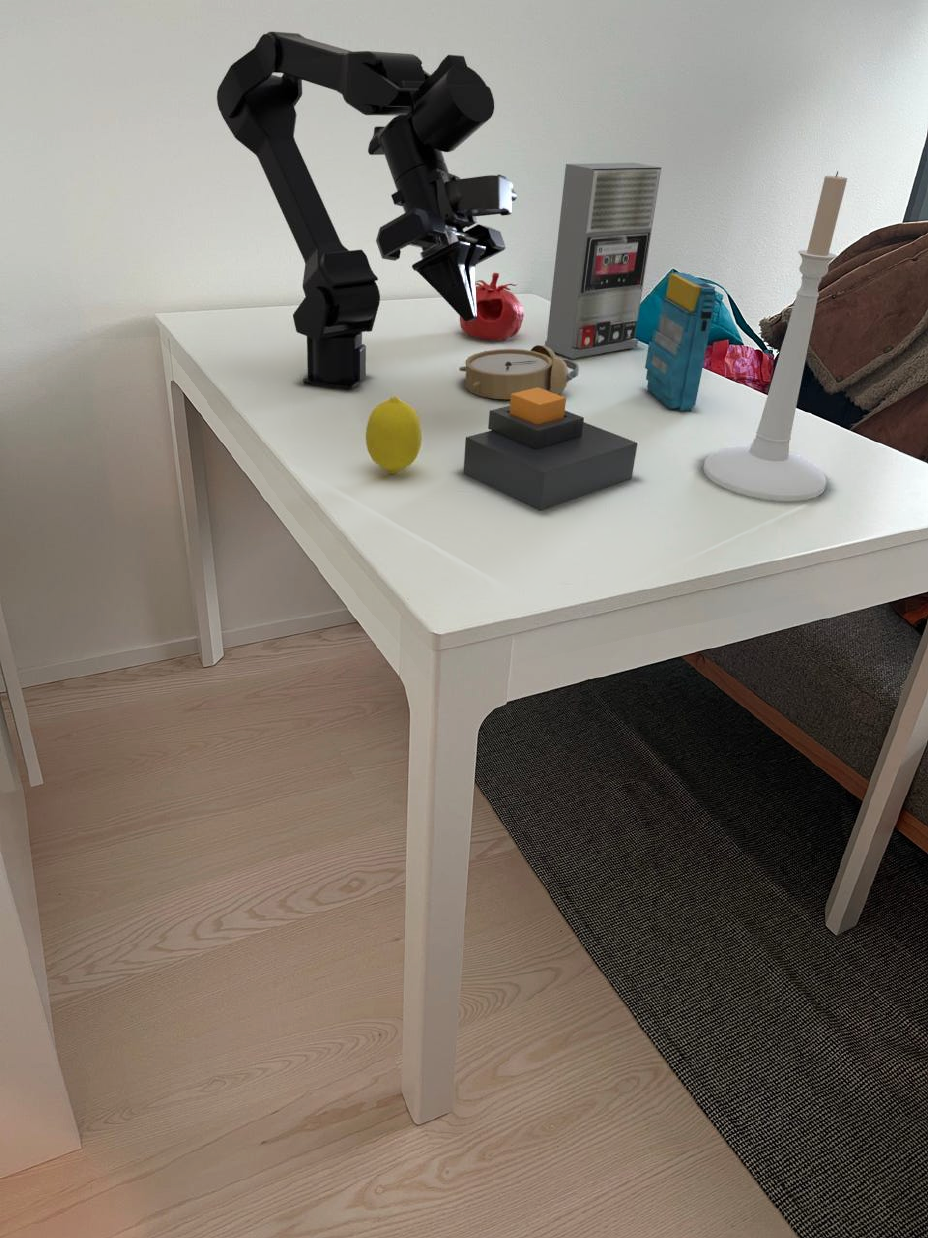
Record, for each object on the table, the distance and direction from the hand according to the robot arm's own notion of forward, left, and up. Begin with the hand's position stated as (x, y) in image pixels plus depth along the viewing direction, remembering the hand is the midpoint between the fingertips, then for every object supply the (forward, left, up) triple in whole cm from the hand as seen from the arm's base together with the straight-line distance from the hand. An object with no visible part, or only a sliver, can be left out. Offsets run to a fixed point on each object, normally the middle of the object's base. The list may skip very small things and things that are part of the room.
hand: (471, 320), depth 100 cm
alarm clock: (+3, +20, -13) cm, 24 cm away
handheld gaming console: (+22, +23, -13) cm, 35 cm away
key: (+9, -7, -7) cm, 13 cm away
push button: (+11, -8, -13) cm, 19 cm away
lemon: (-4, -14, -13) cm, 19 cm away
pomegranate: (-6, +44, -13) cm, 46 cm away
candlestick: (+33, 0, -13) cm, 36 cm away
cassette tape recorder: (+10, +43, -13) cm, 46 cm away
